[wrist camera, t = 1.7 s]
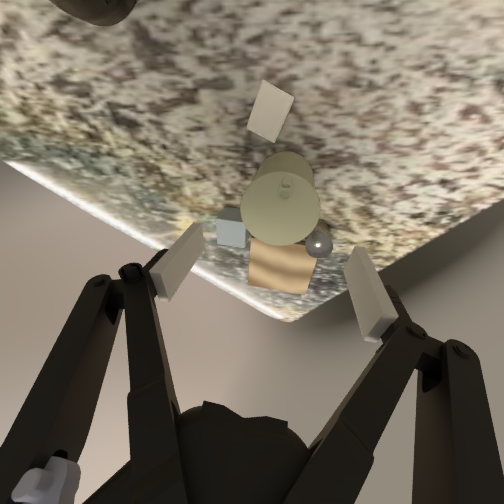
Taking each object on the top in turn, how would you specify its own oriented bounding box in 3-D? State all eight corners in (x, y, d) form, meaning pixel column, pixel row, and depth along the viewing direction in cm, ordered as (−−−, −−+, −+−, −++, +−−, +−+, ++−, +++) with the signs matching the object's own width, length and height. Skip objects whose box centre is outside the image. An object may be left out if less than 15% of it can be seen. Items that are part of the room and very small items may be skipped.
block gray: (224, 206, 36) (216, 218, 32) (251, 210, 35) (245, 222, 31) (225, 230, 39) (217, 243, 35) (250, 233, 38) (244, 248, 34)
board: (252, 234, 38) (251, 237, 37) (320, 244, 37) (320, 247, 36) (249, 281, 46) (248, 284, 45) (304, 290, 45) (305, 294, 44)
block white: (267, 83, 25) (262, 79, 22) (294, 98, 25) (294, 97, 22) (251, 125, 28) (245, 128, 25) (276, 139, 28) (274, 143, 25)
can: (322, 157, 28) (335, 181, 19) (303, 214, 34) (306, 255, 24) (260, 145, 29) (242, 164, 19) (252, 203, 35) (235, 239, 25)
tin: (307, 217, 34) (309, 235, 30) (330, 220, 34) (336, 239, 29) (302, 236, 37) (303, 256, 32) (324, 240, 36) (328, 260, 31)
